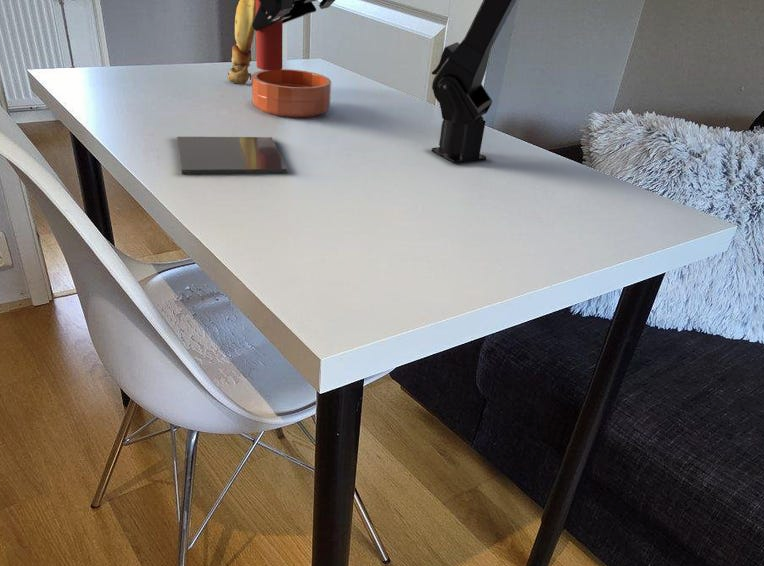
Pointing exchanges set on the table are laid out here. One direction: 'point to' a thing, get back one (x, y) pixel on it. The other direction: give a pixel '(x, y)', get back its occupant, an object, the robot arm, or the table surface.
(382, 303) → the table surface
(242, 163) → the coaster
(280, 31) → the red tall cylinder
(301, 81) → the pot
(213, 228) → the table surface
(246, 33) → the tan tall curved piece
